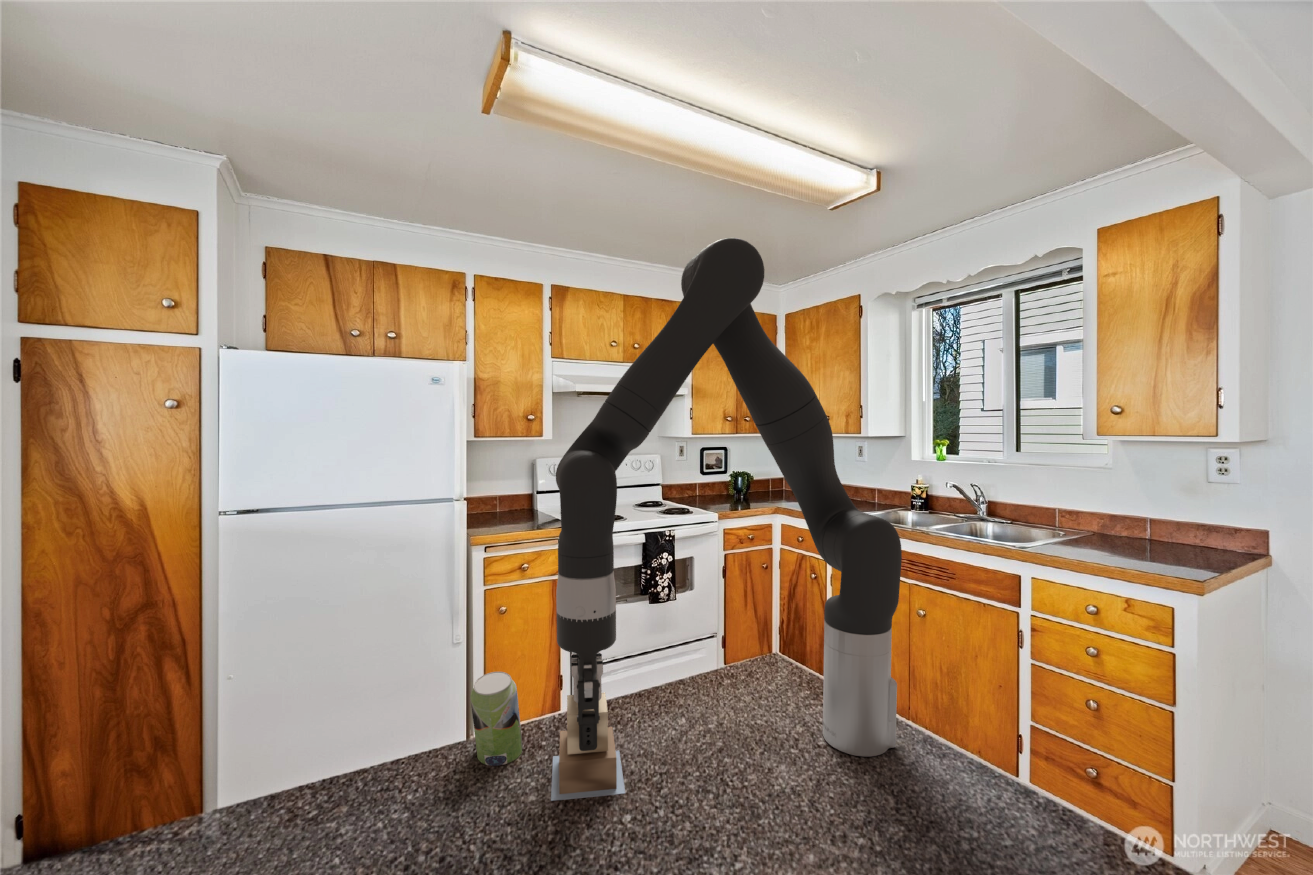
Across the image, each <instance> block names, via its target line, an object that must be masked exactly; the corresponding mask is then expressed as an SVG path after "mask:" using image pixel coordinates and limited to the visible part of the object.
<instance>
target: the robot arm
mask: <svg viewBox="0 0 1313 875" xmlns="http://www.w3.org/2000/svg"><path fill="white" fill-rule="evenodd" d="M764 281H765V264H764V261H763V258H762V256H761V254H760V252H759V251H758V249H757V248H756V247H755V246H754V245H753V244H751V243H750V242H749V241H747V240H744V239H742V238H737V237H726V238H721V239H718V240H716V241H714V242H712V243H709V244H708V245H707V246H705V247H704V248H702V250H701V251H699V252H698V253H697V254H695V255H694V256H693V257H692V258H691V259H690V260H689V261H688V262H687V263H686V265H685V267H684V269H683V271H682V275H681V281H680V282H681V283H680V286H681V291H682V296H683V297H682V300H681V301H680V303H679V305H678V306H677V308H676V309H675V310H674V312H673V314H672V315H671V316H670V318H669V319H668V321H667V322H666V323H665V325H664V327H663V328H662V329H660V331H659V332H658V333H657V335H655V337H654V338H653V340H651V342H649V344H648V345H647V346H646V347H645V348H644V349H643V351H641V353H640V354H639V355H638V357H637V358H635V360H634V361H633V362H632V364H631V365H630V366H629V368H627V370H626V371H625V373H624V374H623V375H622V377H621V378H620V379H619V380H618V382H617V383H616V384H615V386H614V387H613V389H612V390H611V392H610V393H609V394H608V396H607V398H606V399H605V401H604V402H603V403H602V404H601V406H600V408H599V410H598V412H597V413H596V414H595V416H594V417H593V419H592V421H591V422H590V423H589V424H588V425H587V426H586V428H585V429H584V430H583V431H582V432H581V433H580V434H579V435H578V437H577V438H576V440H574V441H573V443H572V444H571V445H570V447H569V448H568V449H567V451H566V452H565V453H564V455H563V456H562V457H561V459H560V461H559V463H558V464H557V468H556V470H555V484H556V486H557V488H558V490H559V491H558V492H559V501H560V502H559V503H560V532H559V535H558V542H557V568H558V569H557V575H558V576H557V582H556V595H555V597H556V604H555V605H556V644H557V646H558V647H560V649H561V650H564V651H565V652H568V653H571V655H570V656H571V660H570V661H571V663H570V664H571V665H570V666H571V677H572V679H573V695H574V701H575V702H577V703H578V715H577V722H578V725H579V749H580V750H581V751H589V750H595V749H596V748H597V724H599V720H600V716H599V700H600V699H601V697H602V693H603V690H602V676H603V674H604V660H603V654H602V651H605V650H608V649H609V648H610V647H612V646H613V645H614V644H615V642H616V640H617V590H616V588H617V587H616V580H615V572H614V568H615V562H614V560H615V559H614V558H615V556H614V555H615V554H614V551H615V550H614V539H613V538H614V537H613V536H614V534H613V533H614V525H615V520H616V511H617V510H616V509H617V501H618V500H617V499H618V481H617V480H618V479H617V474H616V471H617V470H618V469H619V468H620V466H621V465H622V463H623V462H624V461H625V459H626V458H627V456H628V455H629V454H630V453H631V452H632V451H633V450H635V449H637V448H639V447H640V446H641V445H642V444H643V443H644V441H645V440H646V439H647V438H648V436H649V435H650V433H651V432H652V430H653V429H654V427H655V426H656V424H657V423H658V421H659V420H660V419H661V417H662V416H663V415H664V412H665V411H666V410H667V408H668V407H669V405H670V404H671V402H672V401H673V399H674V398H675V396H676V395H677V393H678V392H679V391H680V389H681V388H682V386H683V385H684V383H685V382H686V380H687V379H688V377H689V376H690V374H691V373H692V372H693V370H694V368H695V367H696V366H697V365H698V363H699V362H700V361H701V359H702V358H703V357H704V355H705V354H706V353H707V352H708V350H709V349H710V348H711V346H712V345H713V347H714V348H715V349H716V351H717V352H718V354H719V355H720V357H721V359H722V361H723V362H724V365H725V366H726V368H727V371H728V373H729V375H730V377H731V379H732V381H733V383H734V386H735V387H736V389H737V391H738V393H739V394H740V396H741V399H742V401H743V403H744V405H745V406H746V409H747V410H748V413H749V415H750V417H751V419H752V421H753V423H754V424H755V427H756V428H757V430H758V432H759V435H760V436H761V438H762V440H763V441H764V444H765V445H766V447H767V449H768V451H769V453H770V454H771V456H772V458H773V459H774V461H775V464H776V465H777V467H778V469H779V470H780V472H781V474H782V476H783V478H784V480H785V481H786V483H787V486H788V487H789V488H790V489H791V491H792V494H793V495H794V498H795V499H796V501H797V504H798V506H799V508H800V510H801V514H802V516H803V519H804V521H805V523H806V526H807V528H808V532H809V534H810V535H811V539H812V541H813V544H814V546H815V548H816V550H817V552H818V554H819V556H820V557H821V558H822V559H823V561H824V562H825V563H826V564H827V565H828V566H829V567H831V568H833V569H834V570H837V572H840V584H839V594H837V595H833V596H830V597H829V598H827V599H826V601H825V604H824V617H823V618H824V620H823V622H824V623H823V624H824V625H823V626H824V627H823V630H824V631H823V689H822V691H823V695H822V696H823V697H822V700H823V702H822V736H823V738H824V740H825V741H826V742H827V744H829V745H830V746H831V747H833V748H834V749H836V750H838V751H839V752H842V753H844V754H847V755H848V754H849V755H852V756H857V757H876V756H881V755H882V754H884V753H886V752H887V751H888V750H889V749H891V748H896V747H897V746H896V744H897V705H898V704H897V701H898V698H897V697H898V696H897V695H898V693H897V692H898V683H897V681H896V680H895V678H893V677H892V639H893V638H892V637H893V636H892V630H893V629H892V628H893V626H892V625H893V617H894V615H895V613H896V611H897V608H898V605H899V601H900V586H901V576H902V575H901V574H902V573H901V572H902V557H903V554H902V553H903V552H902V543H901V542H902V541H901V538H900V535H899V532H898V531H897V529H896V528H895V527H894V525H893V524H892V523H891V522H890V521H888V520H887V519H885V518H882V517H879V516H876V515H872V514H869V513H866V512H862V511H860V510H859V509H858V508H857V507H856V505H855V504H854V503H853V500H851V498H850V496H849V495H848V493H847V491H846V489H845V488H844V486H843V484H842V481H841V480H840V477H839V475H838V473H837V470H836V469H837V468H836V464H835V447H834V446H835V445H834V436H833V435H834V434H833V430H832V426H831V423H830V421H829V420H830V419H828V415H827V413H826V411H825V410H824V407H823V405H822V404H821V402H820V400H819V397H818V396H817V394H816V392H815V390H814V388H813V387H812V385H811V383H810V381H809V380H808V379H807V377H806V376H805V375H804V374H803V372H801V371H800V369H799V368H798V367H797V366H796V365H795V364H794V363H793V361H791V360H790V359H789V358H788V357H787V356H786V355H785V354H784V353H783V352H782V351H781V350H780V349H779V347H778V346H776V345H775V343H774V342H773V341H772V340H771V339H770V338H769V336H768V335H767V333H766V331H765V330H764V328H763V327H762V325H761V322H760V320H759V319H758V316H757V314H756V312H755V310H754V308H753V306H752V303H753V302H754V301H755V299H756V298H757V297H758V295H759V293H760V292H761V290H762V287H763V285H764ZM588 709H594V710H593V711H583V710H588Z"/></svg>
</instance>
